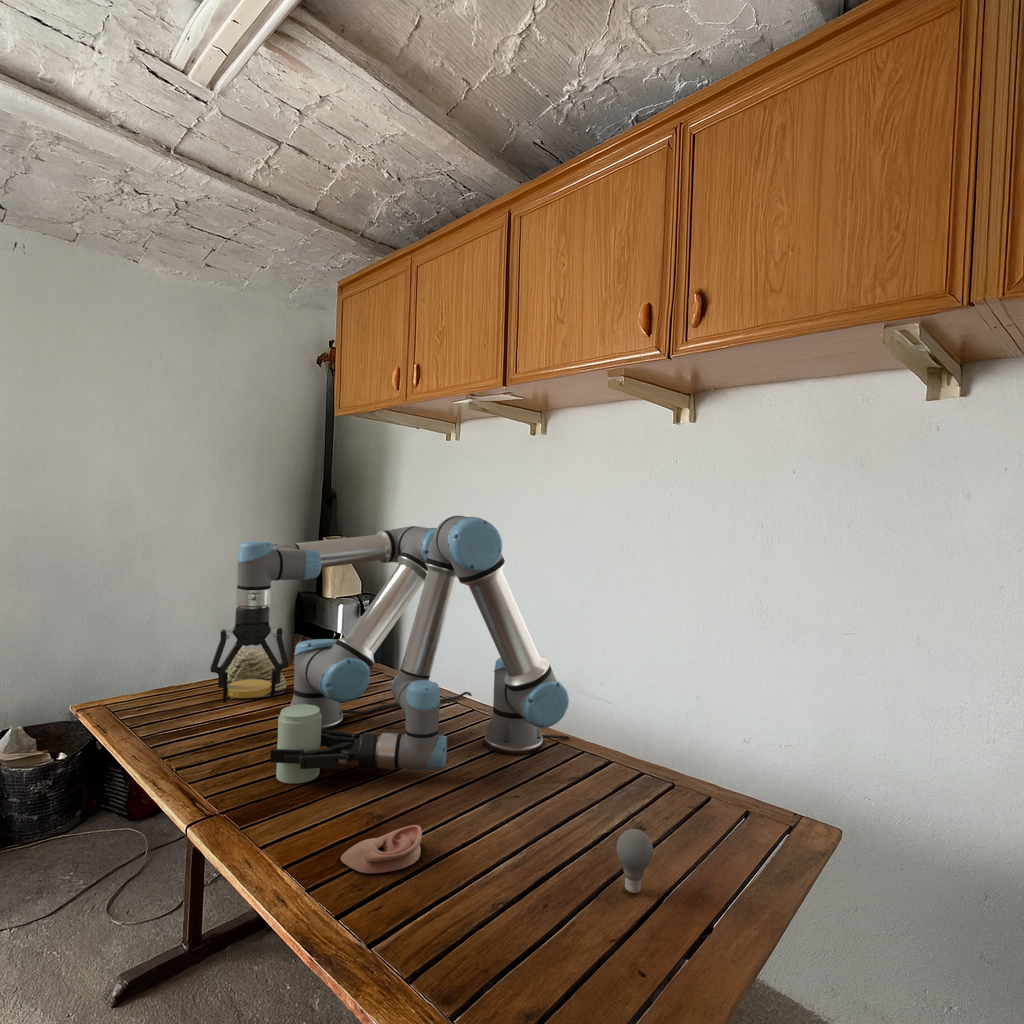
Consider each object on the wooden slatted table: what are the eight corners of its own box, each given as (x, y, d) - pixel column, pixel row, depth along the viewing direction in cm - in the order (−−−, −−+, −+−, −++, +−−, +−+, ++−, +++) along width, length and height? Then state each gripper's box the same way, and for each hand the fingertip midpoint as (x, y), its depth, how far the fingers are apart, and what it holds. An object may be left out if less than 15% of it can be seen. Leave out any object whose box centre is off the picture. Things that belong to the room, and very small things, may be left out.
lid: (230, 700, 144) (231, 693, 144) (222, 688, 153) (222, 682, 153) (276, 694, 150) (276, 688, 150) (265, 683, 158) (266, 677, 158)
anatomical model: (332, 845, 108) (361, 813, 119) (331, 868, 108) (361, 834, 119) (406, 857, 105) (428, 823, 117) (405, 880, 106) (428, 844, 117)
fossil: (218, 695, 195) (220, 647, 195) (278, 685, 208) (279, 640, 207) (228, 703, 189) (230, 653, 188) (289, 692, 201) (290, 645, 201)
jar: (288, 764, 149) (291, 702, 149) (326, 768, 148) (328, 705, 147) (268, 781, 140) (270, 715, 140) (307, 785, 139) (310, 719, 138)
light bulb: (610, 879, 108) (613, 822, 108) (644, 879, 109) (647, 822, 109) (619, 902, 102) (622, 840, 102) (655, 901, 103) (658, 840, 103)
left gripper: (200, 610, 143) (196, 708, 143) (304, 607, 153) (300, 699, 153) (200, 604, 150) (196, 698, 150) (300, 602, 159) (296, 690, 160)
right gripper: (367, 788, 133) (260, 784, 133) (386, 747, 155) (294, 744, 155) (368, 753, 133) (261, 749, 133) (387, 717, 155) (295, 713, 155)
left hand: (248, 698), depth 151 cm, fingers closed on lid, 10 cm apart
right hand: (279, 746), depth 144 cm, fingers closed on jar, 9 cm apart
